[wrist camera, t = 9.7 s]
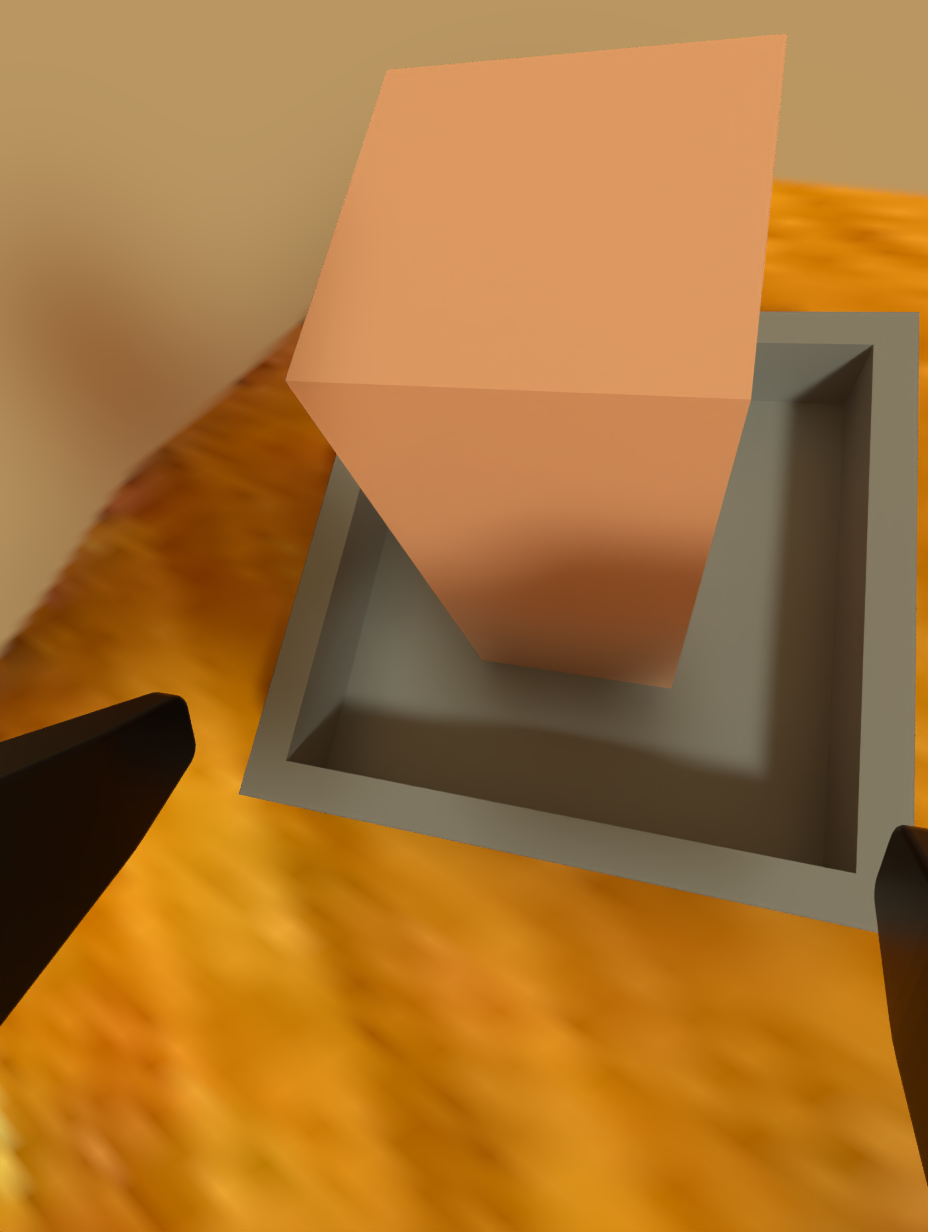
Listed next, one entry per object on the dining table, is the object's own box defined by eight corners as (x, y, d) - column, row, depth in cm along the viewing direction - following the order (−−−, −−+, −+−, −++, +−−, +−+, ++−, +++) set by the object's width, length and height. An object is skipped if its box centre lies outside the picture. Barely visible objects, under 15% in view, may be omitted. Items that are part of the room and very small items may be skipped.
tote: (857, 925, 15) (913, 940, 12) (297, 804, 18) (238, 794, 15) (874, 395, 18) (919, 312, 16) (409, 379, 22) (378, 310, 19)
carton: (671, 688, 16) (750, 400, 6) (482, 660, 17) (285, 381, 7) (692, 512, 17) (786, 33, 7) (515, 498, 19) (387, 70, 9)
